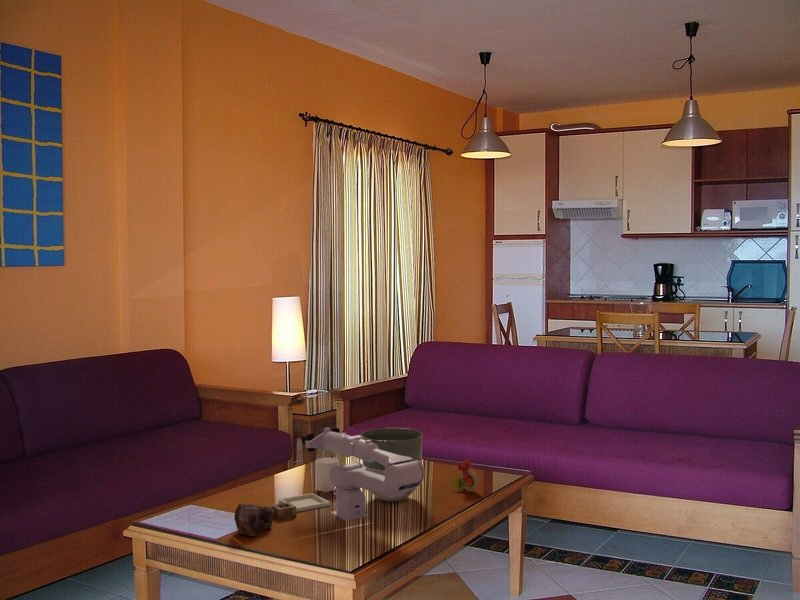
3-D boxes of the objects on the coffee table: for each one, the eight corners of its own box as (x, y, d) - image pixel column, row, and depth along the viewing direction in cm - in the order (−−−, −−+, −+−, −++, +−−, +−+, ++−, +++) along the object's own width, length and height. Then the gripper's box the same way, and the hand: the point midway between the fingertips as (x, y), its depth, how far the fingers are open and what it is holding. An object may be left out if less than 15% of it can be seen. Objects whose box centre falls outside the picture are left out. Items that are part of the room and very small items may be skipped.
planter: (351, 495, 275) (351, 431, 274) (405, 487, 284) (404, 425, 283) (378, 512, 258) (377, 443, 256) (434, 503, 267) (433, 436, 265)
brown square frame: (296, 516, 253) (296, 506, 252) (275, 520, 249) (275, 510, 249) (288, 511, 257) (288, 501, 257) (267, 515, 254) (267, 505, 253)
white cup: (310, 491, 281) (310, 461, 280) (323, 485, 288) (323, 456, 287) (330, 494, 277) (330, 464, 277) (343, 488, 284) (343, 459, 284)
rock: (276, 535, 241) (250, 527, 247) (279, 505, 242) (254, 498, 247) (247, 540, 231) (221, 532, 237) (251, 509, 232) (225, 502, 237)
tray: (330, 506, 263) (330, 501, 263) (295, 513, 257) (295, 508, 257) (312, 497, 273) (312, 493, 273) (278, 503, 267) (278, 499, 267)
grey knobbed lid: (298, 517, 253) (298, 503, 252) (278, 521, 249) (278, 507, 249) (288, 512, 258) (288, 498, 258) (269, 515, 254) (269, 502, 254)
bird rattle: (477, 496, 282) (457, 481, 286) (489, 468, 278) (468, 454, 283) (467, 500, 277) (447, 485, 282) (478, 472, 273) (457, 457, 278)
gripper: (354, 425, 263) (330, 420, 273) (315, 433, 254) (292, 428, 264) (356, 447, 263) (331, 442, 274) (317, 456, 254) (293, 450, 265)
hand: (312, 437), depth 269 cm, fingers open, 7 cm apart
